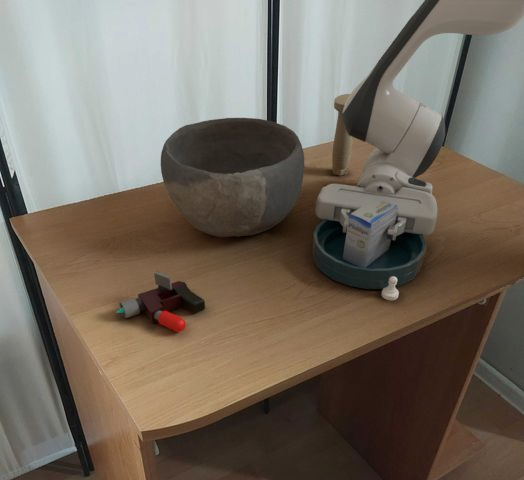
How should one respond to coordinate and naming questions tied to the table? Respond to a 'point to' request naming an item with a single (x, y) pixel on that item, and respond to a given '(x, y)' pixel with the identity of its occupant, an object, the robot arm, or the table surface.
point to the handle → (341, 140)
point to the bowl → (233, 174)
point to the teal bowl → (379, 271)
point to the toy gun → (164, 303)
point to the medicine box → (369, 232)
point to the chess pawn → (391, 290)
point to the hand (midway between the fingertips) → (369, 232)
